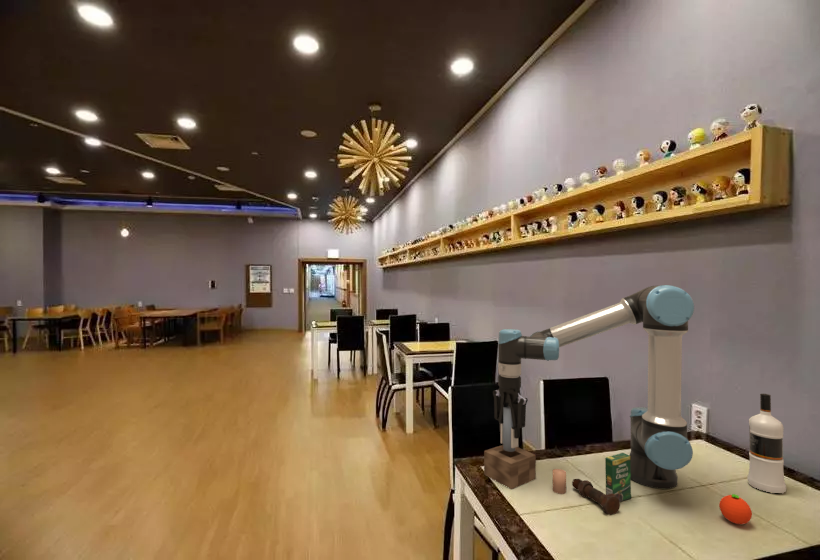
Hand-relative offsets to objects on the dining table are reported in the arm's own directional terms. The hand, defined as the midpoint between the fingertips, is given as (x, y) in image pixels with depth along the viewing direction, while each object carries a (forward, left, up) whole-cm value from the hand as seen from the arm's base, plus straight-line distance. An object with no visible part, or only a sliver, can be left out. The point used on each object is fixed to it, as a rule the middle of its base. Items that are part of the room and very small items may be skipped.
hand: (509, 444), depth 134 cm
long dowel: (0, 0, -2) cm, 2 cm away
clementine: (-52, -32, -11) cm, 62 cm away
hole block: (0, 0, -11) cm, 11 cm away
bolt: (-24, -10, -11) cm, 28 cm away
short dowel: (-15, -6, -11) cm, 20 cm away
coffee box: (-28, -16, -11) cm, 34 cm away
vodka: (-51, -63, -11) cm, 82 cm away
